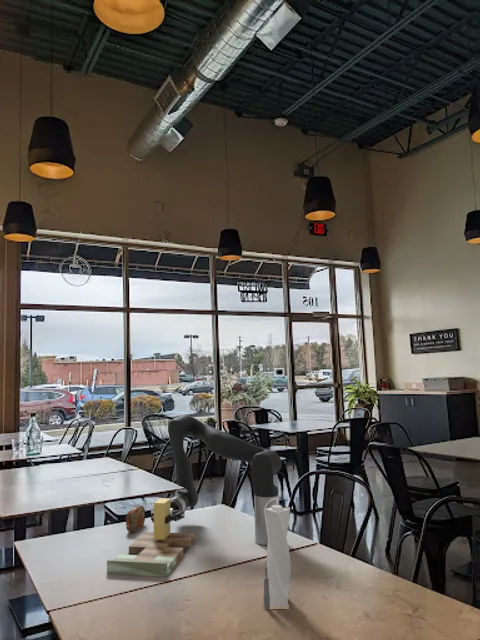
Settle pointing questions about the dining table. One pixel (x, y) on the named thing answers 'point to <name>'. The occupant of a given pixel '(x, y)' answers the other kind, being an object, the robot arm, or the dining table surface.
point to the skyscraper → (277, 556)
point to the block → (161, 518)
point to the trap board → (152, 555)
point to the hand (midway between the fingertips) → (159, 520)
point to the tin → (135, 518)
